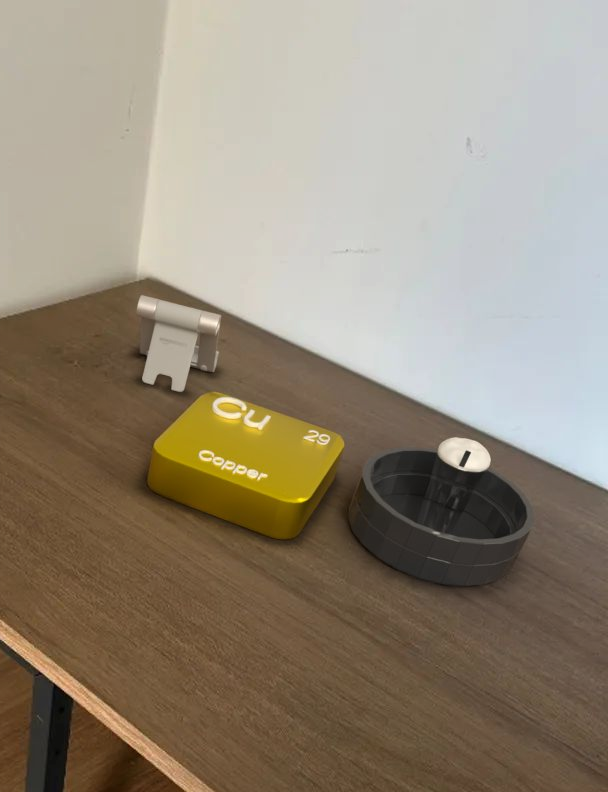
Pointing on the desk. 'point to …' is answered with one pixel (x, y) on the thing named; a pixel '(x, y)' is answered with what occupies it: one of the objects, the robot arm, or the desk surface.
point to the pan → (426, 548)
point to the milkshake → (452, 482)
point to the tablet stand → (176, 340)
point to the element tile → (245, 464)
